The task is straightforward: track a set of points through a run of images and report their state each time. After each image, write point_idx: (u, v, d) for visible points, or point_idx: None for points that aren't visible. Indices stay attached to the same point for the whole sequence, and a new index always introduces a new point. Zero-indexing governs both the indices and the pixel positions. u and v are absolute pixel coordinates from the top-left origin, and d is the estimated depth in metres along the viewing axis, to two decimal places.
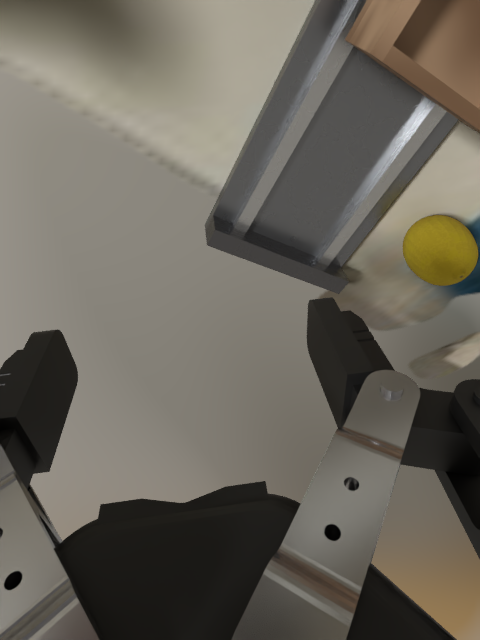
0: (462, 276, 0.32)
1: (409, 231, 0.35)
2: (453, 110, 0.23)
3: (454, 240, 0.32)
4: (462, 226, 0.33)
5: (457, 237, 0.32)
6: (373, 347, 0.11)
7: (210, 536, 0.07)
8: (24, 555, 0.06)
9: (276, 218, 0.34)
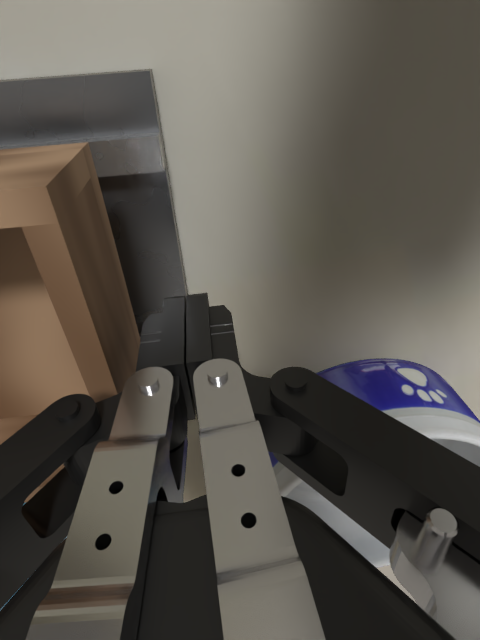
0: None
1: None
2: None
3: None
4: None
5: None
6: (229, 339, 0.11)
7: (210, 536, 0.07)
8: (122, 524, 0.06)
9: None
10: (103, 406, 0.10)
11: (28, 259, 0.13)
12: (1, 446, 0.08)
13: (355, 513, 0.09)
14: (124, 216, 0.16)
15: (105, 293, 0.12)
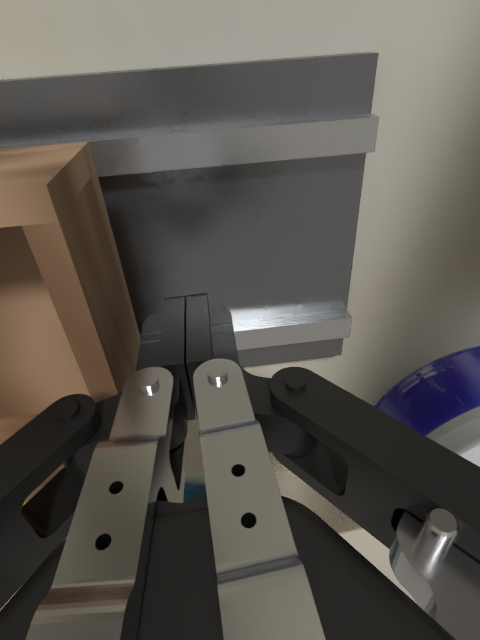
0: None
1: None
2: None
3: None
4: None
5: None
6: (229, 339, 0.11)
7: (210, 536, 0.07)
8: (122, 524, 0.06)
9: None
10: (103, 406, 0.10)
11: (28, 258, 0.13)
12: (1, 446, 0.08)
13: (355, 514, 0.09)
14: (315, 197, 0.16)
15: (105, 292, 0.12)
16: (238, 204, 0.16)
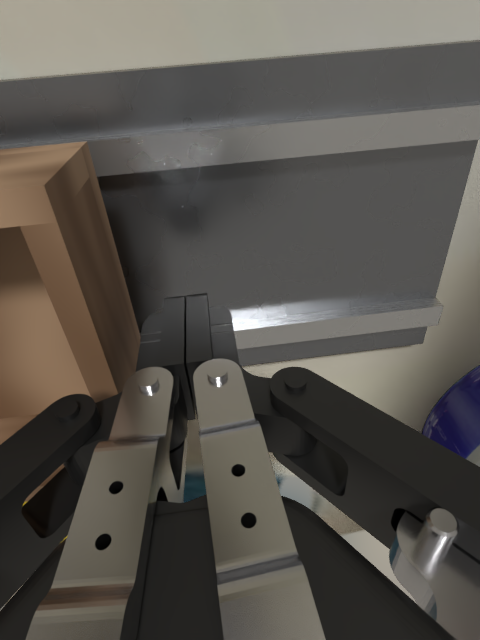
0: None
1: None
2: None
3: None
4: None
5: None
6: (229, 339, 0.11)
7: (210, 536, 0.07)
8: (122, 525, 0.06)
9: None
10: (103, 406, 0.10)
11: (28, 259, 0.13)
12: (1, 446, 0.08)
13: (355, 513, 0.09)
14: (422, 185, 0.17)
15: (105, 292, 0.12)
16: (347, 192, 0.17)
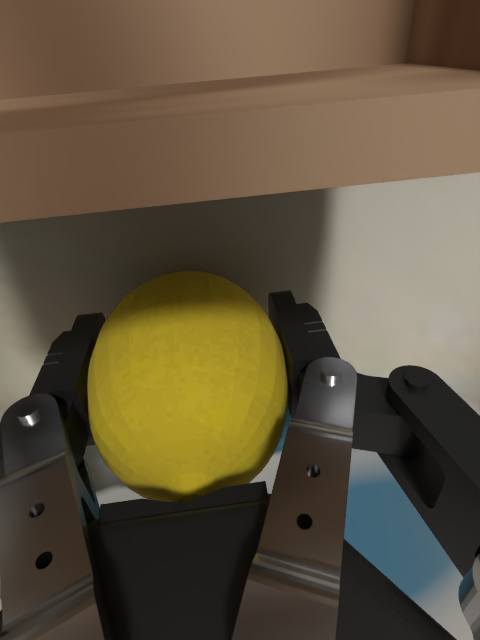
0: None
1: (174, 272, 0.11)
2: None
3: (261, 379, 0.09)
4: (285, 366, 0.11)
5: (270, 379, 0.09)
6: (324, 337, 0.11)
7: (210, 536, 0.07)
8: (58, 537, 0.06)
9: None
10: None
11: None
12: None
13: (439, 531, 0.08)
14: None
15: None
16: None
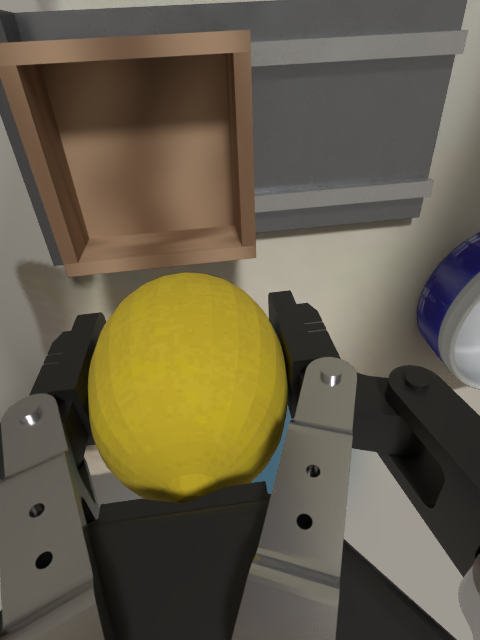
0: None
1: (175, 274, 0.11)
2: (41, 195, 0.20)
3: (261, 380, 0.09)
4: None
5: (270, 380, 0.09)
6: (324, 337, 0.11)
7: (210, 536, 0.07)
8: (58, 537, 0.06)
9: None
10: None
11: (195, 105, 0.22)
12: None
13: (439, 531, 0.08)
14: (420, 88, 0.26)
15: None
16: (373, 91, 0.26)
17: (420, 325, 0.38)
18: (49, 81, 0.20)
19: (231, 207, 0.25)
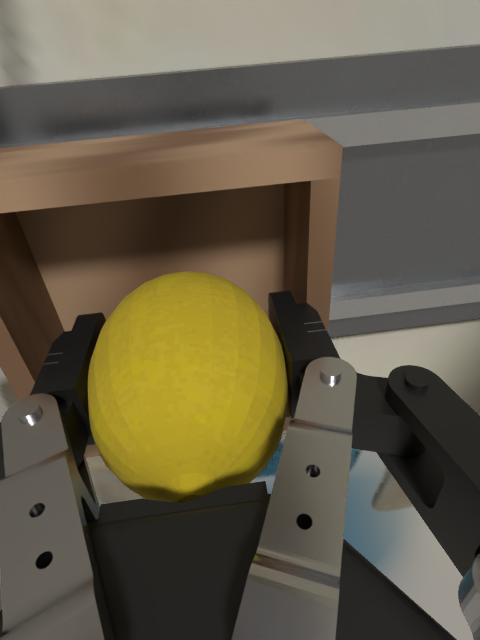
0: None
1: (174, 273, 0.11)
2: (8, 377, 0.13)
3: (261, 380, 0.09)
4: None
5: (270, 379, 0.09)
6: (323, 337, 0.11)
7: (210, 536, 0.07)
8: (58, 537, 0.06)
9: None
10: None
11: (236, 222, 0.15)
12: None
13: (439, 531, 0.08)
14: None
15: None
16: (477, 169, 0.18)
17: None
18: None
19: None
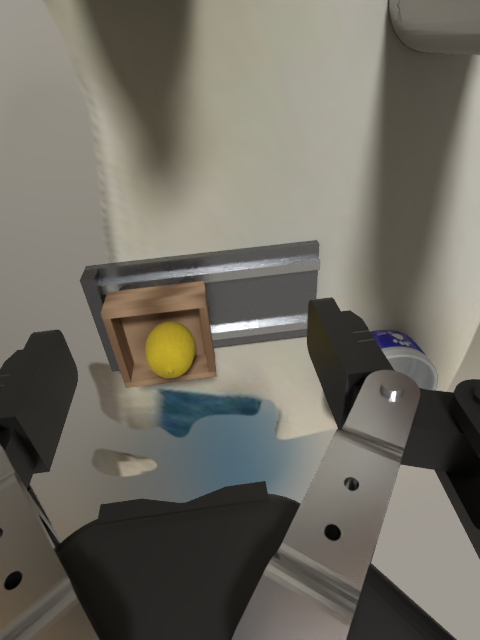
0: (169, 373, 0.41)
1: (166, 322, 0.44)
2: (116, 358, 0.45)
3: (184, 348, 0.41)
4: (194, 346, 0.43)
5: (186, 348, 0.42)
6: (373, 347, 0.11)
7: (210, 536, 0.07)
8: (24, 555, 0.06)
9: None
10: None
11: (185, 309, 0.46)
12: None
13: None
14: (302, 281, 0.50)
15: None
16: (276, 283, 0.50)
17: None
18: None
19: (205, 346, 0.49)
